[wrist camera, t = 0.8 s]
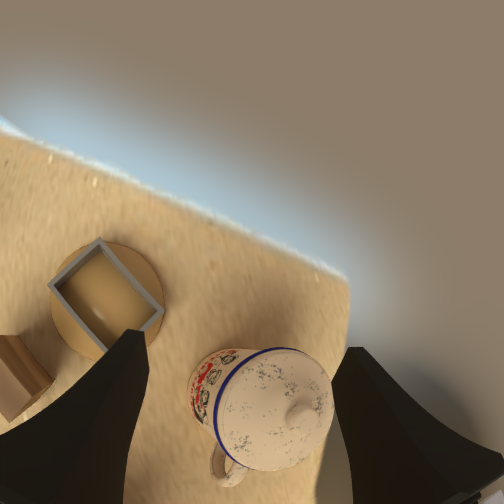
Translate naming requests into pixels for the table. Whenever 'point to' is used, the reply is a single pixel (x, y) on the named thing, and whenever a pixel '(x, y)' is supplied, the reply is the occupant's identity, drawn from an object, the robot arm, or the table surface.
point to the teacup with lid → (260, 408)
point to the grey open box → (104, 298)
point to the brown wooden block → (19, 378)
